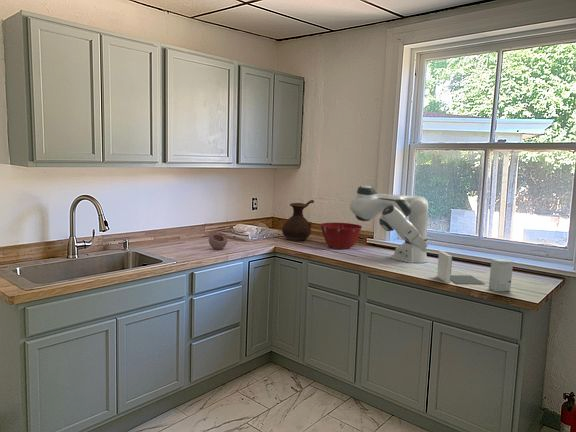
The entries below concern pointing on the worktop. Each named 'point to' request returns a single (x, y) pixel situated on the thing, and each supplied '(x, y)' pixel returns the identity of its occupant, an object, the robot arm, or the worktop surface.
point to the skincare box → (500, 274)
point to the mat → (465, 279)
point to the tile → (444, 266)
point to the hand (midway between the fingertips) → (424, 251)
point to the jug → (297, 223)
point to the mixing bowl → (340, 234)
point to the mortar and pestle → (217, 240)
